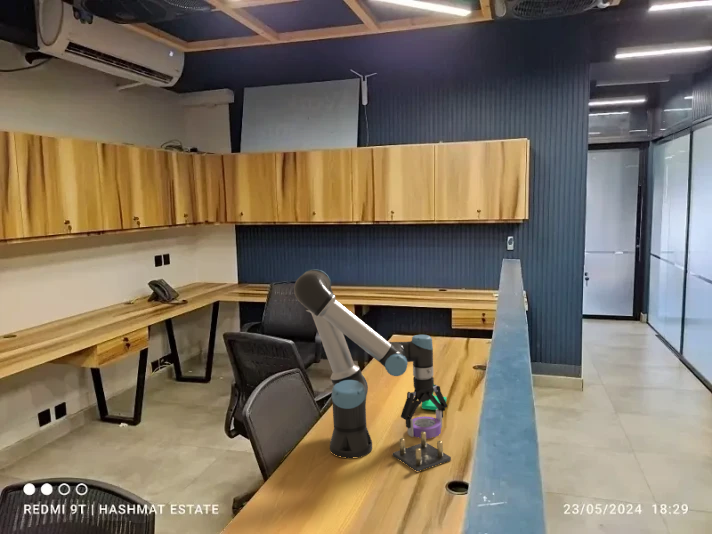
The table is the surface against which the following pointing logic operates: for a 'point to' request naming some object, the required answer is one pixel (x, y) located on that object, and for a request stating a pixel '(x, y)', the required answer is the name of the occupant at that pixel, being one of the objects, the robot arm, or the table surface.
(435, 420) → the masking tape
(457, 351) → the table surface
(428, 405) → the camera mount
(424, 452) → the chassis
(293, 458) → the table surface
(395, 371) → the robot arm
